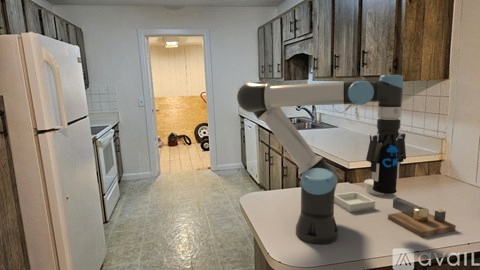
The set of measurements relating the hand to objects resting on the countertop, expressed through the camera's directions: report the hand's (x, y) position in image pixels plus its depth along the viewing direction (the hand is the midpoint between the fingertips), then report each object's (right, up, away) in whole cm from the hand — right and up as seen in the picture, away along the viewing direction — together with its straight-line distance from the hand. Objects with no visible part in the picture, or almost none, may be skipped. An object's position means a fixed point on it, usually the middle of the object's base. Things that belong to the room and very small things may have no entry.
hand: (384, 179), depth 114 cm
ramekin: (+15, -13, +42) cm, 46 cm away
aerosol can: (0, -4, +1) cm, 4 cm away
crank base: (+16, -18, +5) cm, 25 cm away
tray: (-3, -15, +25) cm, 30 cm away
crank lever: (+14, -15, +10) cm, 23 cm away
